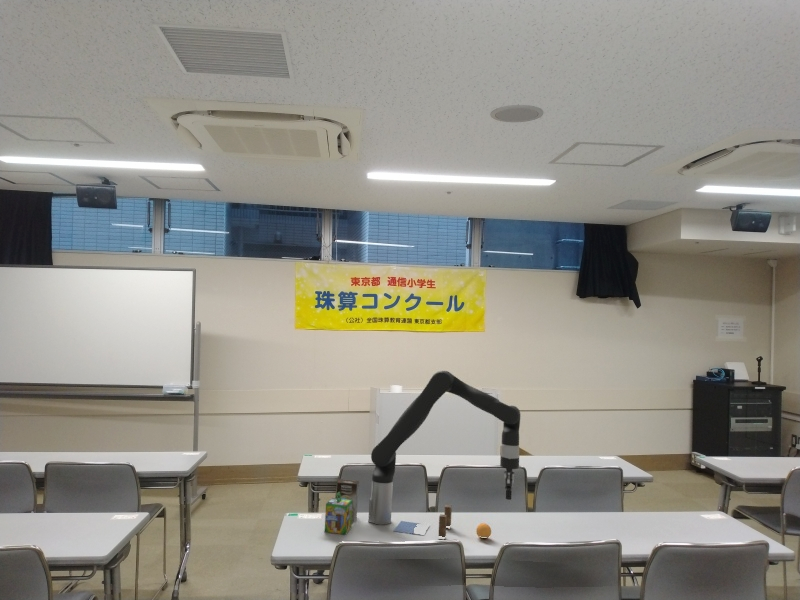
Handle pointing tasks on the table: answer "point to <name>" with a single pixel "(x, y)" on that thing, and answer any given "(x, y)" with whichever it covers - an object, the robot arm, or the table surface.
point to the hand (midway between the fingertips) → (508, 499)
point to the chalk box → (338, 515)
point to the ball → (483, 530)
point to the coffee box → (349, 493)
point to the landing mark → (405, 527)
